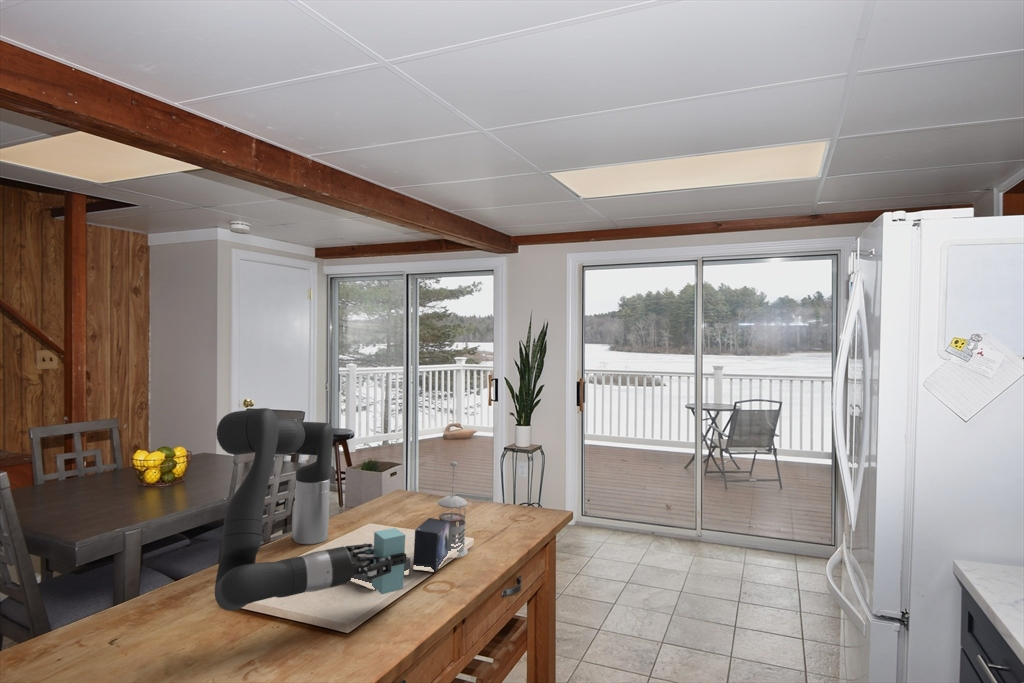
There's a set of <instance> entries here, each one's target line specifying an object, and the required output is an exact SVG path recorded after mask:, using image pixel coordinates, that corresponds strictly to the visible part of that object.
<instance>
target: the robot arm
mask: <svg viewBox="0 0 1024 683" xmlns="http://www.w3.org/2000/svg"><path fill="white" fill-rule="evenodd" d="M216 427H217V429H216V440H217V443H218V444H219V446H220V448H221V449H222V450H223V451H225V452H226V453H227V454H230V455H233V456H235V455H236V456H239V455H246V454H254V458H253V461H252V463H251V467H250V469H249V471H248V473H247V475H246V476H245V478H244V479H243V480H242V483H241V484H240V486H239V487H238V488H237V490H236V492H235V493H234V494H233V496H232V498H231V499H230V501H229V504H227V507H226V511H225V515H224V520H223V529H222V539H221V552H220V553H221V554H220V558H219V562H218V567H217V568H218V569H217V572H216V578H215V584H214V598H215V601H216V603H217V604H216V605H218V606H219V607H220V608H221V609H222V610H225V611H231V612H232V611H238V610H240V609H242V608H244V607H245V606H247V605H249V604H252V603H256V602H260V601H263V600H267V599H270V598H272V599H273V598H278V599H279V598H288V597H292V596H295V595H300V594H303V593H312V592H320V591H323V590H326V589H327V590H328V589H331V588H336V587H340V586H344V585H348V584H349V583H351V582H350V580H351V578H352V576H353V575H363V574H366V575H367V580H372V579H374V578H377V577H380V576H382V575H385V574H388V573H391V567H392V566H396V565H400V564H404V563H406V557H407V553H399V554H395V555H390V556H379V554H374V545H373V543H366V544H365V543H363V544H352V545H346V546H338V547H333V548H328V549H322V550H319V551H313V552H310V553H306V554H304V555H300V556H294V557H290V558H285V559H281V560H278V561H277V560H276V561H265V562H256V559H257V555H258V552H259V551H260V548H261V545H262V544H261V543H262V534H263V522H264V509H265V503H266V502H265V501H266V497H267V491H268V486H269V483H270V479H271V474H272V469H273V465H274V460H275V457H276V455H280V456H281V455H290V454H293V453H294V454H298V455H302V456H316V459H315V460H316V461H314V462H312V463H310V464H307V465H303V466H300V467H298V468H297V470H295V471H296V472H295V490H294V491H295V492H294V494H295V495H294V496H295V497H294V504H293V505H292V518H291V519H292V520H291V523H292V524H291V539H293V541H294V542H295V543H296V544H301V545H315V544H320V543H323V542H325V541H326V540H328V538H329V519H330V518H329V514H330V511H329V510H330V492H331V491H330V489H331V488H330V487H331V471H332V470H331V467H332V455H333V454H332V453H333V443H334V429H333V426H332V424H331V423H328V422H316V421H298V420H297V419H295V418H292V417H287V416H276V413H275V412H274V411H273V410H272V409H270V408H267V407H262V408H253V409H246V410H238V411H232V412H230V413H227V414H225V415H224V416H223V417H222V418H221V419H220V421H218V424H217V426H216ZM374 559H375V560H376V564H374ZM383 560H385V561H383ZM380 561H382V562H380ZM383 569H385V570H383Z"/></svg>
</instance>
